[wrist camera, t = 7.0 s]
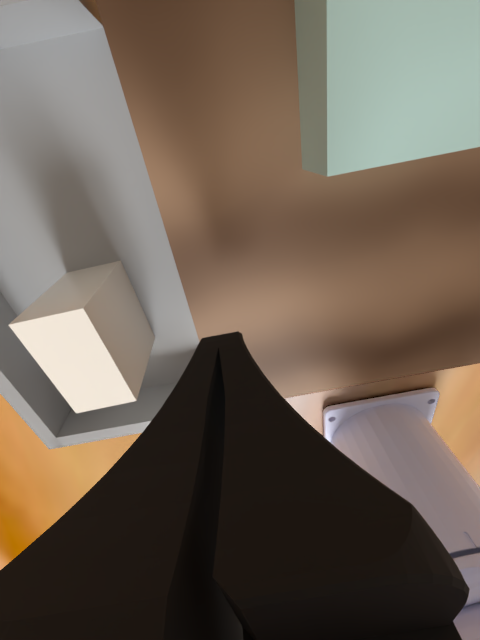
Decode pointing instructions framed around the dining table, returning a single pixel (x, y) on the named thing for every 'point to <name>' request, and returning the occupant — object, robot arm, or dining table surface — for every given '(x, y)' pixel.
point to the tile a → (89, 337)
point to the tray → (77, 210)
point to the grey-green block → (386, 81)
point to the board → (292, 206)
